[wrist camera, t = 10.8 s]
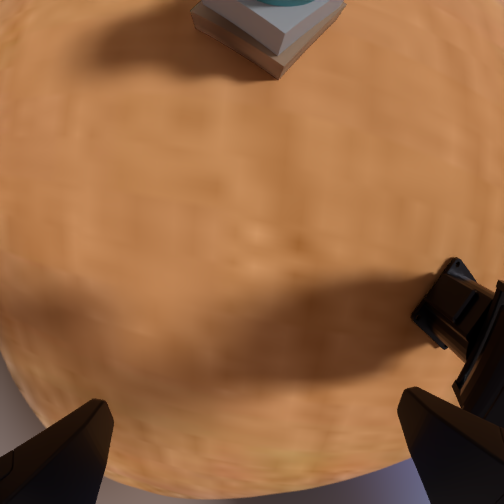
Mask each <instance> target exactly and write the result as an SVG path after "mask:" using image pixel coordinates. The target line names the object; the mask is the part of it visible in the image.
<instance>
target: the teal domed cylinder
mask: <svg viewBox="0 0 504 504" xmlns="http://www.w3.org/2000/svg"><path fill="white" fill-rule="evenodd" d="M257 1H259V2H262V3H265V4H269V5H275V6H284V7H292V6H300V5H304V4H308V3H310V2H312V1H314V0H257Z"/></svg>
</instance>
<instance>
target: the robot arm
mask: <svg viewBox="0 0 504 504" xmlns="http://www.w3.org/2000/svg"><path fill="white" fill-rule="evenodd" d="M456 263H457V265H456ZM496 287H497V289H496V292H495V293H494V292H493V291H491V290H489V289H487V288H486V287H484V286H482V285H480V284H478V283H477V282H476V280H475V279H474V277H473V276H472V274H471V273H470V271H469V270H468V269H467V267H466V266H465V264H464V263H463V262H462V260H461V259H459V258H457V257H455V258H453V259H452V261H451V262H450V264H449V265H448V267H447V268H446V270H445V271H444V272H443V274H442V275H441V277H440V278H439V279H438V281H437V282H436V283H435V285H434V286H433V287H432V289H431V290H430V291H429V293H428V294H427V295H426V297H425V298H424V299H423V301H422V302H421V303H420V304H419V306H418V307H417V308H416V309H415V311H414V312H413V313H412V315H411V319H412V321H414V322H415V323H416V324H417V325H418V326H419V327H420V328H421V329H422V330H423V331H424V332H425V333H426V334H428V335H429V336H430V337H431V338H432V339H433V340H434V341H435V342H436V343H437V344H438V345H439V346H440V347H441V348H442V349H444V350H445V349H447V348H449V349H451V350H452V351H453V352H454V353H455V354H456V355H457V356H458V357H459V358H460V359H461V360H462V361H463V362H464V363H465V365H464V367H463V369H462V371H461V372H460V374H459V376H458V378H457V380H455V381H454V383H453V385H452V388H453V390H454V392H455V395H456V397H457V399H458V402H459V404H460V407H461V408H459V407H457V406H455V405H453V404H451V403H449V402H447V401H445V400H443V399H441V398H439V397H437V396H435V395H433V394H431V393H429V392H427V391H425V390H423V389H421V388H419V387H411V388H407V389H405V390H404V391H403V394H402V397H401V399H400V402H399V405H398V409H397V413H398V417H399V420H400V423H401V426H402V430H403V433H404V436H405V439H406V443H407V446H408V449H409V452H410V454H411V457H412V459H413V461H414V463H415V466H416V468H417V471H418V473H419V476H420V478H421V480H422V483H423V485H424V488H425V490H426V492H427V495H428V498H429V500H430V503H431V504H504V281H502V280H498V282H497V285H496ZM417 315H418V317H417V318H416V316H417ZM113 427H114V420H113V417H112V414H111V412H110V409H109V407H108V404H107V402H106V401H105V400H101V399H91V400H90V401H88V402H87V403H85V404H84V405H82V406H81V407H79V408H78V409H76V410H75V411H73V412H72V413H70V414H69V415H67V416H65V417H64V418H62V419H61V420H59V421H58V422H56V423H55V424H53V425H52V426H50V427H48V428H47V429H45V430H44V431H42V432H41V433H39V434H37V435H36V436H34V437H33V438H31V439H29V440H28V441H26V442H25V443H23V444H21V445H20V446H18V447H17V448H15V449H14V451H13V450H12V451H10V452H8V453H7V454H5V455H3V456H1V457H0V504H95V503H96V500H97V496H98V492H99V489H100V485H101V482H102V478H103V475H104V472H105V468H106V464H107V459H108V453H109V448H110V442H111V437H112V432H113Z"/></svg>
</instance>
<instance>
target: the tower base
mask: <svg viewBox="0 0 504 504" xmlns="http://www.w3.org/2000/svg"><path fill="white" fill-rule="evenodd" d="M346 5H347V4H346V3H344V2H342V4H341V5H340V7H339V8H338V9H336V10H335V11H334V12H332V13H331V14H330V15H328V16H327V17H326V18H324V19H323V20H322V21H320V22H319V23H318V24H316V25H315V26H314V27H312V28H311V29H310V30H309V31H307V32H306V33H305V34H304V35H302V36H301V37H300V38H299V39H297V40H296V41H295V42H294V43H293V44H291V45H290V46H289V47H288V48H287V49H285V50H284V51H283V52H282V53H281V54H280V55H278V56H277V55H276V54H274V53H273V52H272V51H271V50H269V49H268V48H267V47H265V46H264V45H263V44H261V43H260V42H259V41H257V40H256V39H255V38H253V37H252V36H250V35H249V34H248V33H246V32H245V31H243V30H242V29H241V28H239V27H238V26H236V25H235V24H233V23H232V22H230V21H229V20H227V19H226V18H224V17H223V16H221V15H219V14H218V13H216V12H215V11H213V10H211V9H210V8H208V7H207V6H205V5H203V2H202V0H201V1H200V2H199V3H198V4H197V5H196V6H195V7H194V8H192V9H191V10H190V12H191V16H192V19H193V22H194V25H195V28H196V29H198V30H200V31H202V32H203V33H205V34H207V35H209V36H211V37H212V38H214V39H216V40H218V41H219V42H221V43H223V44H224V45H226V46H228V47H229V48H231V49H233V50H234V51H236V52H237V53H239V54H241V55H242V56H244V57H245V58H247V59H248V60H250V61H252V62H253V63H255V64H256V65H258V66H259V67H261V68H262V69H264V70H265V71H266V72H268V73H269V74H271V75H272V76H274V77H275V78H276V79H278V80H279V79H280V78H281V77H282V76H283V75H284V73H285V72H286V71H287V70H288V69H289V68H290V67H291V66H292V65H293V64H294V63H295V62H296V60H297V59H298V58H299V57H300V56H301V55H302V54H303V53H304V52H305V51H306V50H307V49H308V48H309V47H310V46H311V45H312V44H313V43H314V42H315V41H316V40H317V39H318V38H319V37H320V36H321V35H322V34H323V33H324V32H325V31H326V30H327V29H328V28H329V27H330V26H331V25H332V24H333V23H334V22H335V21H336V19H337V18H338V16H339V15H340V14H341V12H342V11H343V9H344V8H345V6H346Z"/></svg>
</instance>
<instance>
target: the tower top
mask: <svg viewBox="0 0 504 504" xmlns="http://www.w3.org/2000/svg"><path fill="white" fill-rule="evenodd" d="M343 1H344V0H314V1H312V2H310V3H308V4H304V5H300V6H292V7H284V6H275V5H269V4H265V3H262V2H259V1H257V0H202V2H203V5H205V6H207V7H208V8H210V9H211V10H213V11H215V12H216V13H218V14H219V15H221V16H223V17H224V18H226V19H227V20H229V21H230V22H232V23H233V24H235V25H236V26H238V27H239V28H241V29H242V30H243V31H245V32H246V33H248V34H249V35H250V36H252V37H253V38H255V39H256V40H257V41H259V42H260V43H261V44H263V45H264V46H265V47H267V48H268V49H269V50H271V51H272V52H273V53H274V54H276V55H277V56H278V55H280V54H281V53H282V52H283V51H284V50H285V49H287V48H288V47H289V46H290V45H291V44H293V43H294V42H295V41H296V40H297V39H299V38H300V37H301V36H302V35H304V34H305V33H306V32H307V31H309V30H310V29H311V28H312V27H314V26H315V25H316V24H318V23H319V22H320V21H322V20H323V19H324V18H326V17H327V16H328V15H330V14H331V13H332V12H334V11H335V10H336V9H338V8H339V7H340V5H341V4H342V2H343Z"/></svg>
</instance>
